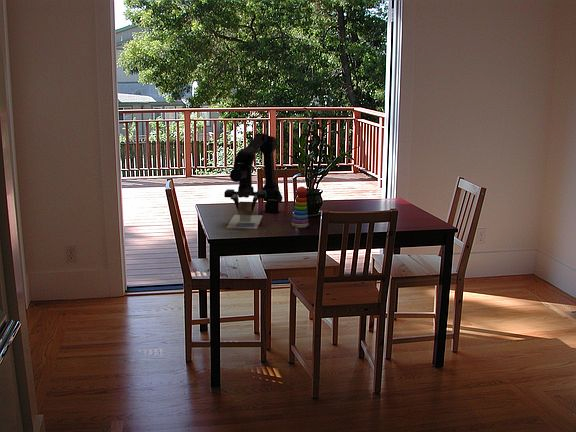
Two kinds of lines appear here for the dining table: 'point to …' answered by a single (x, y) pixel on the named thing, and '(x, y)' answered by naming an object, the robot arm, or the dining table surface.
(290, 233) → the dining table surface
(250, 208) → the walnut block
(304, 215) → the stacking toy
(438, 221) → the dining table surface
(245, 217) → the sage block
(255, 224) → the build board
